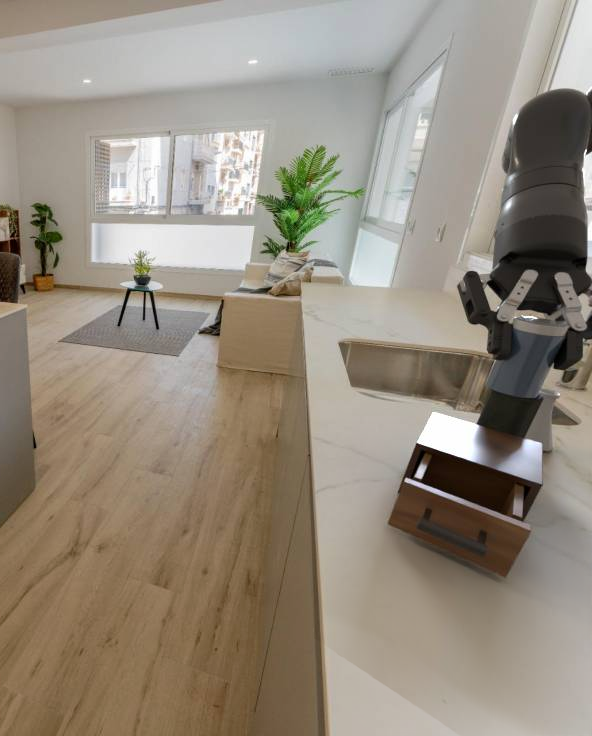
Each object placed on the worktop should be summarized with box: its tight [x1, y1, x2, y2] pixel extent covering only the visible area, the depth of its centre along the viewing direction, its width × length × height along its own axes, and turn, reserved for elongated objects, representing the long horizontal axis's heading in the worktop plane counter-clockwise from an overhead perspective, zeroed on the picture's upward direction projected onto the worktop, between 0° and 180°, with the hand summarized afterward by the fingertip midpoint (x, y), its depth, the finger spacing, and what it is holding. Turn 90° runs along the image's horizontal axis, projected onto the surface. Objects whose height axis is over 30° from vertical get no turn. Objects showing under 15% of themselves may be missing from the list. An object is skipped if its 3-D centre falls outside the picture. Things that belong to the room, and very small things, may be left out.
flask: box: [525, 387, 562, 452], centre depth 75 cm, size 7×7×10 cm
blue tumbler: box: [484, 315, 569, 398], centre depth 46 cm, size 4×4×8 cm
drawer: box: [387, 452, 532, 579], centre depth 53 cm, size 17×11×7 cm
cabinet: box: [397, 411, 544, 522], centre depth 61 cm, size 14×13×9 cm
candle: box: [476, 388, 544, 438], centre depth 66 cm, size 5×5×25 cm
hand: (532, 361), depth 45 cm, fingers closed on blue tumbler, 4 cm apart
